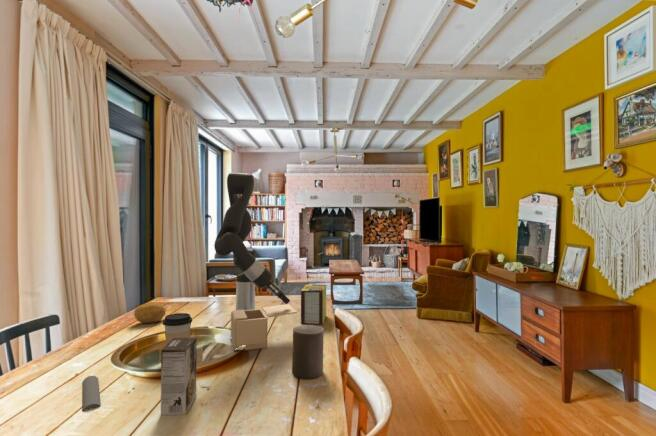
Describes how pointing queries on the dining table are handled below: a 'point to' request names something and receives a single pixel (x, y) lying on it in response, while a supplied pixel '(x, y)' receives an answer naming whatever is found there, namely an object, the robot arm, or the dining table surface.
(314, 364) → the pillar candle
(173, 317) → the coffee cup
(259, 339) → the carton
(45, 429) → the dining table surface
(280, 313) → the flap
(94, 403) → the gray half cylinder
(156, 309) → the potato
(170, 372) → the coffee box
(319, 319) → the protein box
